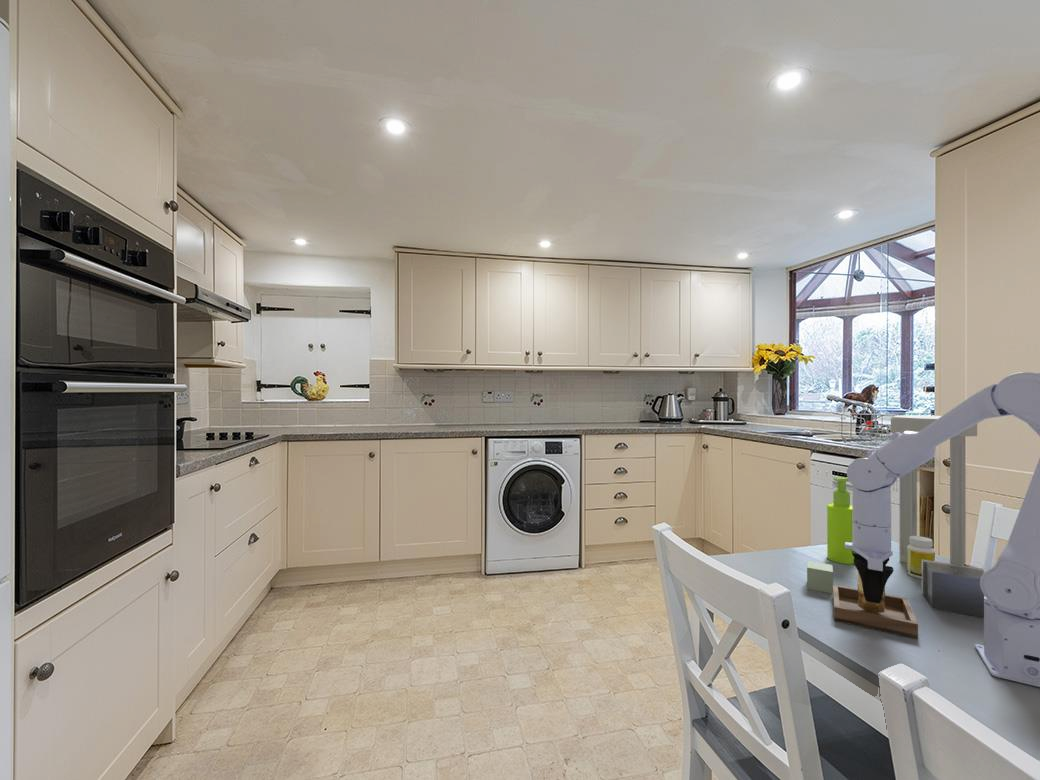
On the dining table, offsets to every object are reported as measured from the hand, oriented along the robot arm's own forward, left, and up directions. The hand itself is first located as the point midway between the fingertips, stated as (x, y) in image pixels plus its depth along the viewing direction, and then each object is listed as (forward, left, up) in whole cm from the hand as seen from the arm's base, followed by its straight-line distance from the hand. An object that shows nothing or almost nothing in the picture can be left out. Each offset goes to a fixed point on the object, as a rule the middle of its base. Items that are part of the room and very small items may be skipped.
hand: (871, 597), depth 86 cm
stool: (+42, -15, -4) cm, 45 cm away
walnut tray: (0, 0, -3) cm, 3 cm away
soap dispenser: (+32, +3, -4) cm, 32 cm away
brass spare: (0, 0, -2) cm, 2 cm away
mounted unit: (+13, -14, -3) cm, 19 cm away
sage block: (+10, +8, -4) cm, 13 cm away
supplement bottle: (+29, -11, -4) cm, 31 cm away
